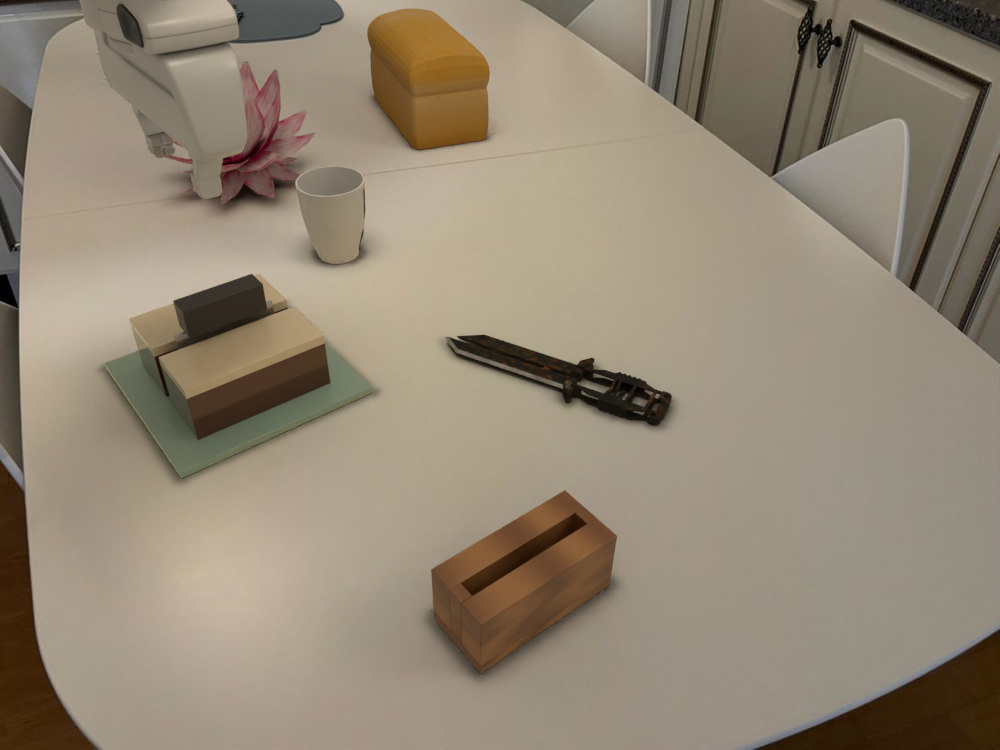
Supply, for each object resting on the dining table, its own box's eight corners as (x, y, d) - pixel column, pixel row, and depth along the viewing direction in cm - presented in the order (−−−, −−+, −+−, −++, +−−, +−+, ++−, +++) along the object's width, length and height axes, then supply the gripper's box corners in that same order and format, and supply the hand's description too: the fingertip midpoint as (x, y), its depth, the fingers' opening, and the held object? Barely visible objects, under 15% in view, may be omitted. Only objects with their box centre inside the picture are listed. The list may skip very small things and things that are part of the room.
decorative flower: (335, 205, 118) (323, 97, 108) (174, 231, 112) (146, 119, 102) (304, 144, 133) (290, 45, 124) (160, 164, 127) (135, 62, 118)
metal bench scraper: (194, 399, 84) (172, 315, 78) (185, 387, 86) (162, 304, 79) (286, 362, 89) (272, 280, 83) (276, 350, 90) (261, 270, 84)
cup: (381, 260, 107) (375, 186, 100) (319, 277, 103) (309, 202, 97) (356, 232, 112) (348, 160, 106) (296, 247, 109) (285, 174, 103)
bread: (370, 96, 149) (363, 6, 140) (440, 87, 153) (438, -1, 144) (413, 151, 132) (408, 52, 123) (490, 139, 136) (491, 43, 126)
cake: (181, 478, 77) (164, 422, 72) (106, 368, 89) (87, 315, 85) (372, 392, 87) (366, 338, 82) (281, 304, 99) (272, 253, 94)
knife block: (480, 674, 62) (480, 625, 58) (433, 618, 66) (430, 569, 62) (609, 585, 68) (617, 535, 65) (560, 539, 72) (565, 489, 68)
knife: (437, 349, 93) (436, 339, 92) (471, 321, 97) (470, 310, 96) (649, 437, 82) (651, 426, 81) (676, 401, 86) (679, 390, 85)
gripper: (54, -31, 66) (102, 141, 74) (154, 35, 53) (198, 232, 62) (136, -41, 69) (172, 124, 77) (248, 19, 56) (277, 209, 65)
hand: (184, 173), depth 70 cm, fingers open, 8 cm apart
